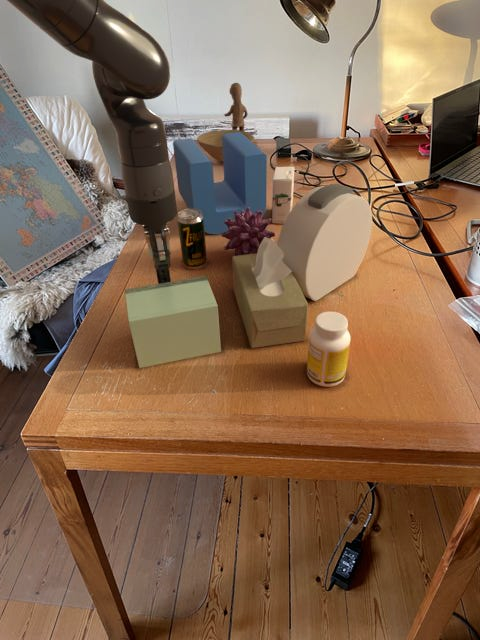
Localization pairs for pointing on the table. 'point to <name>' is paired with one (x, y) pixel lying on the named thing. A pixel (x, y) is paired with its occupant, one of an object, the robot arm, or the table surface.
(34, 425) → the table surface
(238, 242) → the flower
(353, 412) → the table surface
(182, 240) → the beer can
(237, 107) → the figurine
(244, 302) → the tissue box
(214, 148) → the bowl
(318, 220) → the alarm clock
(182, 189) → the block
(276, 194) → the ink box
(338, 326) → the pill bottle
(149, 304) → the pale green open box
